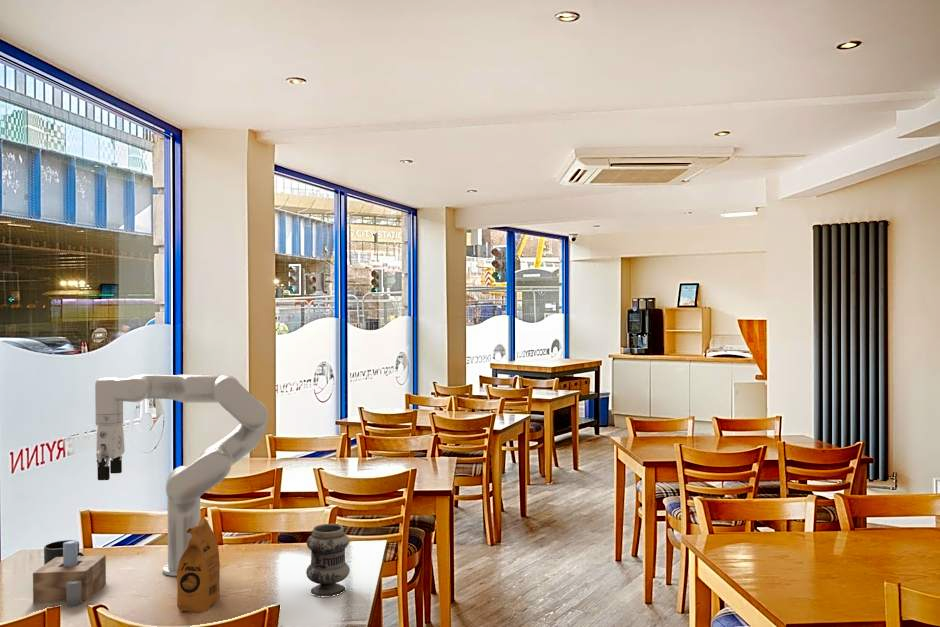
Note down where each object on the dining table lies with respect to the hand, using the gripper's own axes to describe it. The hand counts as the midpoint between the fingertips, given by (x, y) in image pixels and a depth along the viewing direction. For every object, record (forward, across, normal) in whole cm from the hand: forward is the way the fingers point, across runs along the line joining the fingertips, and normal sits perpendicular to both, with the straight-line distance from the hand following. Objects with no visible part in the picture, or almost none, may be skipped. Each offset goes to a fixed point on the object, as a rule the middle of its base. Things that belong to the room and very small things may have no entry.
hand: (110, 476), depth 230 cm
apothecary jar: (+31, -19, -66) cm, 75 cm away
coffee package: (+31, -25, -32) cm, 51 cm away
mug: (+31, +5, +15) cm, 34 cm away
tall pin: (+30, -11, +7) cm, 33 cm away
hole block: (+30, -11, +7) cm, 33 cm away
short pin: (+30, -21, +2) cm, 37 cm away
